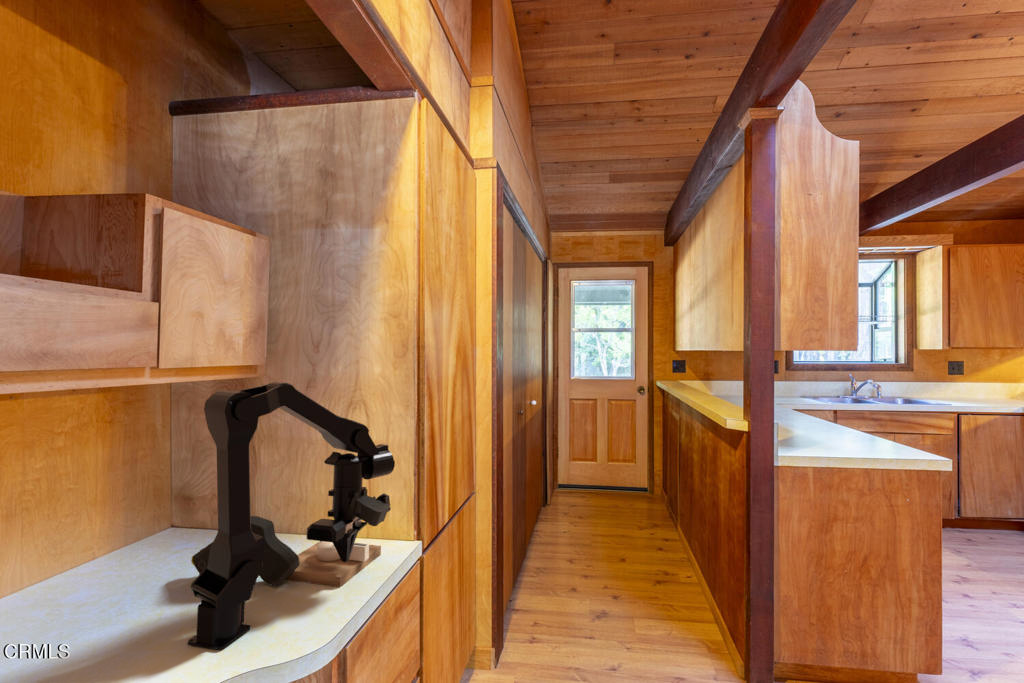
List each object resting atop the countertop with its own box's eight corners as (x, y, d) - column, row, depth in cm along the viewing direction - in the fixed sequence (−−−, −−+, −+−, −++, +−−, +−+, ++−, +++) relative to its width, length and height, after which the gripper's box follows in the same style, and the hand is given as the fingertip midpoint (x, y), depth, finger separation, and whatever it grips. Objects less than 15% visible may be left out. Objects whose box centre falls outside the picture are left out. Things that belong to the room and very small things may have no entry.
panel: (340, 587, 98) (341, 576, 98) (274, 578, 101) (274, 568, 101) (381, 554, 115) (381, 545, 115) (323, 547, 118) (323, 538, 118)
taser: (294, 575, 96) (254, 510, 98) (225, 622, 98) (186, 558, 99) (305, 566, 101) (267, 504, 102) (239, 611, 102) (202, 549, 103)
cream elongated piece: (310, 559, 106) (311, 544, 106) (326, 549, 112) (327, 534, 112) (359, 565, 103) (359, 549, 103) (373, 554, 109) (373, 539, 109)
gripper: (360, 499, 90) (357, 586, 90) (403, 476, 109) (401, 548, 108) (306, 494, 93) (303, 579, 92) (357, 472, 111) (355, 543, 110)
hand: (345, 561), depth 101 cm, fingers closed
